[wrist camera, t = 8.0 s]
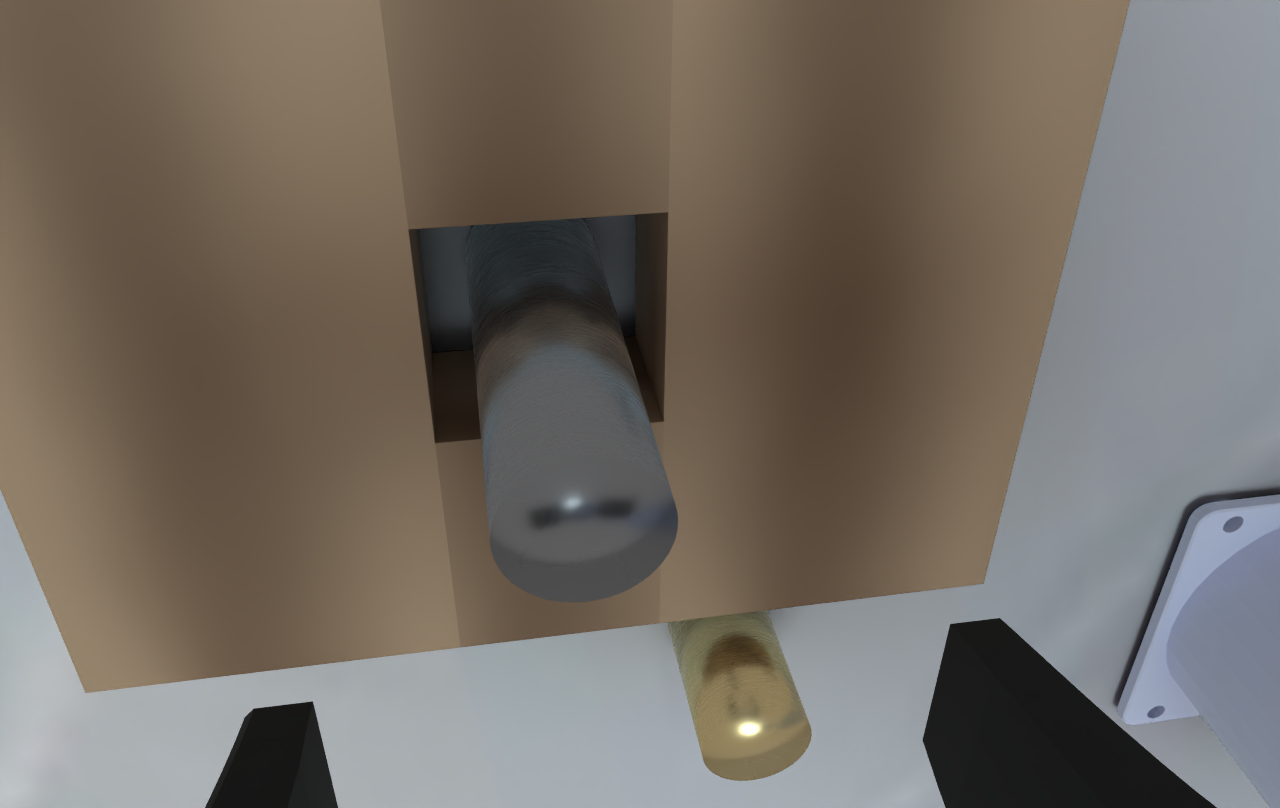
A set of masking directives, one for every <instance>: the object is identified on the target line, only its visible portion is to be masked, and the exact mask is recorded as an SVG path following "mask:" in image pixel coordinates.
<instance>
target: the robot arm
mask: <svg viewBox="0 0 1280 808" xmlns="http://www.w3.org/2000/svg"><path fill="white" fill-rule="evenodd" d="M1117 712H1118V714H1119V716H1120V717H1121V719H1122V720H1123V721H1124V723H1126V724H1128V725H1138V724H1145V723H1152V722H1159V721H1166V720H1173V719H1180V718H1187V717H1194V716H1202V718H1203V719H1204V720H1205V722H1206V723H1207V724H1208V726H1209V727H1210V728H1211V730H1212V731H1213V732H1214V734H1215V735H1216V736H1217V738H1218V739H1219V740H1220V742H1221V743H1222V744H1223V746H1224V747H1225V748H1226V750H1227V751H1228V752H1229V754H1230V755H1231V756H1232V758H1233V759H1234V760H1235V762H1236V763H1237V764H1238V766H1239V767H1240V768H1241V770H1242V771H1243V772H1244V774H1245V775H1246V776H1247V778H1248V779H1249V780H1250V782H1251V783H1252V784H1253V786H1254V787H1255V788H1256V790H1257V791H1258V792H1259V794H1260V795H1261V796H1262V798H1263V799H1264V800H1265V802H1266V803H1267V804H1268V806H1269V807H1270V808H1280V495H1271V496H1262V497H1254V498H1245V499H1236V500H1227V501H1219V502H1211V503H1207V504H1204V505H1202V506H1200V507H1198V508H1197V509H1196V510H1195V511H1194V512H1193V513H1192V514H1191V516H1190V518H1189V520H1188V522H1187V525H1186V527H1185V530H1184V533H1183V535H1182V538H1181V541H1180V543H1179V546H1178V548H1177V551H1176V554H1175V556H1174V559H1173V562H1172V564H1171V567H1170V570H1169V572H1168V575H1167V577H1166V580H1165V583H1164V585H1163V588H1162V591H1161V593H1160V596H1159V599H1158V601H1157V604H1156V606H1155V609H1154V612H1153V614H1152V617H1151V620H1150V622H1149V625H1148V628H1147V630H1146V633H1145V635H1144V638H1143V641H1142V643H1141V646H1140V649H1139V651H1138V654H1137V657H1136V659H1135V662H1134V664H1133V667H1132V670H1131V672H1130V675H1129V678H1128V680H1127V683H1126V686H1125V688H1124V691H1123V693H1122V696H1121V699H1120V701H1119V704H1118V707H1117ZM923 742H924V745H925V748H926V751H927V754H928V758H929V761H930V764H931V767H932V770H933V773H934V776H935V779H936V782H937V785H938V788H939V790H940V793H941V796H942V799H943V802H944V804H945V807H946V808H1217V807H1215V806H1214V805H1213V804H1211V803H1210V802H1209V801H1208V800H1206V799H1205V798H1204V797H1203V796H1201V795H1200V794H1199V793H1197V792H1196V791H1195V790H1194V789H1193V788H1191V787H1190V786H1189V785H1188V784H1186V783H1185V782H1184V781H1183V780H1182V779H1180V778H1179V777H1178V776H1177V775H1175V774H1174V773H1173V772H1172V771H1171V770H1169V769H1168V768H1167V767H1166V766H1165V765H1164V764H1162V763H1161V762H1160V761H1159V760H1158V759H1157V758H1155V757H1154V756H1153V755H1152V754H1151V753H1150V752H1148V751H1147V750H1146V749H1145V748H1144V747H1143V746H1141V745H1140V744H1139V743H1138V742H1137V741H1136V740H1134V739H1133V738H1132V737H1131V736H1130V735H1129V734H1127V733H1126V732H1125V731H1124V730H1123V729H1122V728H1121V727H1119V726H1118V725H1117V724H1116V723H1115V722H1114V721H1113V720H1111V719H1110V718H1109V717H1108V716H1107V715H1106V714H1105V713H1104V712H1102V711H1101V710H1100V709H1099V708H1098V707H1097V706H1096V705H1095V704H1094V703H1092V702H1091V701H1090V700H1089V699H1088V698H1087V697H1086V696H1085V695H1084V694H1083V693H1081V692H1080V691H1079V690H1078V689H1077V688H1076V687H1075V686H1074V685H1073V684H1071V683H1070V682H1069V681H1068V680H1067V679H1066V678H1065V677H1064V676H1063V675H1062V674H1060V673H1059V672H1058V671H1057V670H1056V669H1055V668H1054V667H1053V666H1052V665H1051V664H1050V663H1048V662H1047V661H1046V660H1045V659H1044V658H1043V657H1042V656H1041V655H1040V654H1039V653H1038V652H1036V651H1035V650H1034V649H1033V648H1032V647H1031V646H1030V645H1029V644H1028V643H1027V642H1025V641H1024V640H1023V639H1022V638H1021V637H1020V636H1019V635H1018V634H1017V633H1016V632H1015V631H1013V630H1012V629H1011V628H1010V627H1009V626H1008V625H1007V624H1006V623H1005V622H1003V621H1002V620H1001V619H1000V618H997V619H989V620H981V621H972V622H964V623H956V624H950V628H949V632H948V636H947V640H946V645H945V649H944V653H943V657H942V661H941V665H940V670H939V674H938V678H937V682H936V686H935V691H934V695H933V699H932V703H931V707H930V711H929V716H928V720H927V724H926V728H925V732H924V737H923ZM205 808H338V806H337V801H336V797H335V793H334V789H333V785H332V780H331V776H330V772H329V768H328V763H327V759H326V755H325V751H324V747H323V742H322V738H321V734H320V730H319V726H318V721H317V717H316V713H315V709H314V704H313V702H305V703H297V704H289V705H281V706H273V707H264V708H256V709H253V710H252V711H251V712H250V713H249V714H248V715H247V716H246V717H245V718H244V721H243V723H242V726H241V728H240V731H239V733H238V736H237V738H236V741H235V743H234V745H233V748H232V750H231V752H230V755H229V757H228V759H227V762H226V764H225V766H224V768H223V771H222V773H221V775H220V777H219V779H218V782H217V784H216V786H215V788H214V790H213V792H212V794H211V797H210V799H209V801H208V803H207V805H206V807H205Z"/></svg>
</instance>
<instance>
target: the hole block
mask: <svg viewBox="0 0 1280 808" xmlns="http://www.w3.org/2000/svg"><path fill="white" fill-rule="evenodd" d="M1129 3H1130V0H0V489H1V492H2V494H3V496H4V499H5V501H6V504H7V506H8V508H9V511H10V513H11V516H12V518H13V520H14V523H15V525H16V528H17V530H18V532H19V535H20V537H21V540H22V542H23V544H24V547H25V549H26V552H27V554H28V556H29V559H30V561H31V563H32V566H33V568H34V571H35V573H36V575H37V578H38V580H39V583H40V585H41V587H42V590H43V592H44V595H45V597H46V599H47V602H48V604H49V607H50V609H51V611H52V614H53V616H54V619H55V621H56V623H57V626H58V628H59V631H60V633H61V635H62V638H63V640H64V642H65V645H66V647H67V650H68V652H69V654H70V657H71V659H72V662H73V664H74V666H75V669H76V671H77V674H78V676H79V678H80V681H81V683H82V686H83V688H84V690H85V693H89V692H97V691H106V690H114V689H122V688H130V687H138V686H147V685H155V684H163V683H171V682H179V681H188V680H196V679H204V678H212V677H221V676H229V675H237V674H245V673H253V672H262V671H270V670H278V669H286V668H295V667H303V666H311V665H319V664H327V663H336V662H344V661H352V660H360V659H368V658H377V657H385V656H393V655H401V654H410V653H418V652H426V651H434V650H442V649H451V648H459V647H467V646H475V645H484V644H492V643H500V642H508V641H516V640H525V639H533V638H541V637H549V636H558V635H566V634H574V633H582V632H590V631H599V630H607V629H615V628H623V627H631V626H640V625H648V624H656V623H664V622H673V621H681V620H689V619H697V618H705V617H714V616H722V615H730V614H738V613H747V612H755V611H763V610H771V609H779V608H788V607H796V606H804V605H812V604H820V603H829V602H837V601H845V600H853V599H862V598H870V597H878V596H886V595H894V594H903V593H911V592H919V591H927V590H936V589H944V588H952V587H960V586H968V585H977V584H984V580H985V576H986V572H987V568H988V564H989V560H990V556H991V552H992V548H993V544H994V540H995V536H996V532H997V528H998V524H999V520H1000V516H1001V512H1002V508H1003V504H1004V500H1005V496H1006V492H1007V488H1008V484H1009V480H1010V476H1011V472H1012V468H1013V464H1014V460H1015V456H1016V452H1017V448H1018V444H1019V440H1020V436H1021V432H1022V428H1023V424H1024V420H1025V416H1026V412H1027V409H1028V405H1029V401H1030V397H1031V393H1032V389H1033V385H1034V381H1035V377H1036V373H1037V369H1038V365H1039V361H1040V357H1041V353H1042V349H1043V345H1044V341H1045V337H1046V333H1047V329H1048V325H1049V321H1050V317H1051V313H1052V309H1053V305H1054V301H1055V297H1056V293H1057V289H1058V285H1059V281H1060V277H1061V273H1062V269H1063V265H1064V261H1065V257H1066V253H1067V249H1068V245H1069V241H1070V237H1071V233H1072V229H1073V226H1074V222H1075V218H1076V214H1077V210H1078V206H1079V202H1080V198H1081V194H1082V190H1083V186H1084V182H1085V178H1086V174H1087V170H1088V166H1089V162H1090V158H1091V154H1092V150H1093V146H1094V142H1095V138H1096V134H1097V130H1098V126H1099V122H1100V118H1101V114H1102V110H1103V106H1104V102H1105V98H1106V94H1107V90H1108V86H1109V82H1110V78H1111V74H1112V70H1113V66H1114V62H1115V58H1116V54H1117V50H1118V46H1119V43H1120V39H1121V35H1122V31H1123V27H1124V23H1125V19H1126V15H1127V11H1128V7H1129ZM635 214H636V336H633V337H624V340H625V343H626V347H627V350H628V353H629V356H630V359H631V363H632V366H633V369H634V372H635V375H636V379H637V382H638V385H639V388H640V392H641V395H642V398H643V401H644V404H645V408H646V411H647V414H648V417H649V421H650V424H651V427H652V430H653V433H654V437H655V440H656V443H657V446H658V450H659V453H660V456H661V459H662V462H663V466H664V469H665V472H666V475H667V478H668V482H669V485H670V488H671V491H672V495H673V498H674V501H675V504H676V508H677V513H678V529H677V535H676V538H675V541H674V544H673V546H672V548H671V550H670V552H669V554H668V556H667V557H666V558H665V560H664V561H663V563H662V564H661V565H660V566H659V567H658V568H657V569H656V570H655V571H654V572H653V573H652V574H651V575H650V576H649V577H647V578H646V579H645V580H643V581H642V582H640V583H639V584H637V585H636V586H634V587H632V588H630V589H629V590H626V591H624V592H622V593H620V594H617V595H614V596H611V597H608V598H604V599H600V600H596V601H589V602H575V603H570V602H558V601H551V600H547V599H543V598H539V597H537V596H534V595H532V594H529V593H527V592H525V591H523V590H522V589H520V588H518V587H517V586H516V585H514V584H513V583H511V582H510V581H509V580H508V579H507V578H506V577H505V576H504V575H503V573H502V572H501V571H500V569H499V568H498V566H497V564H496V562H495V560H494V558H493V555H492V552H491V546H490V538H489V526H488V514H487V502H486V491H485V479H484V467H483V455H482V444H481V432H480V420H479V408H478V397H477V385H476V373H475V362H474V350H464V351H452V352H440V353H433V352H432V343H431V335H430V326H429V318H428V310H427V301H426V293H425V285H424V276H423V268H422V260H421V251H420V243H419V235H418V229H424V228H439V227H454V226H469V225H484V224H499V223H514V222H529V221H544V220H560V219H575V218H590V217H605V216H620V215H635Z"/></svg>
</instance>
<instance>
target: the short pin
mask: <svg viewBox="0 0 1280 808" xmlns="http://www.w3.org/2000/svg"><path fill="white" fill-rule="evenodd" d="M667 623H668V627H669V631H670V635H671V639H672V642H673V646H674V650H675V654H676V658H677V661H678V665H679V669H680V673H681V677H682V680H683V684H684V688H685V692H686V696H687V699H688V703H689V707H690V711H691V715H692V718H693V722H694V726H695V730H696V734H697V737H698V741H699V745H700V749H701V753H702V756H703V760H704V763H705V765H706V766H707V768H708V769H709V770H710V771H711V772H713V773H714V774H716V775H718V776H720V777H722V778H726V779H730V780H738V781H747V780H755V779H761V778H764V777H768V776H771V775H774V774H776V773H778V772H780V771H782V770H784V769H786V768H787V767H789V766H790V765H792V764H793V763H794V762H796V761H797V760H798V759H799V758H800V757H801V756H802V755H803V753H804V752H805V751H806V749H807V747H808V745H809V743H810V740H811V727H810V724H809V722H808V719H807V716H806V714H805V711H804V708H803V705H802V703H801V700H800V697H799V695H798V692H797V689H796V687H795V684H794V681H793V679H792V676H791V673H790V671H789V668H788V665H787V663H786V660H785V657H784V654H783V652H782V649H781V646H780V644H779V641H778V638H777V636H776V633H775V630H774V628H773V625H772V622H771V620H770V617H769V614H768V611H767V610H763V611H755V612H747V613H738V614H730V615H722V616H714V617H705V618H697V619H689V620H681V621H673V622H667Z"/></svg>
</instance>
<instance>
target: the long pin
mask: <svg viewBox="0 0 1280 808" xmlns="http://www.w3.org/2000/svg"><path fill="white" fill-rule="evenodd" d="M466 268H467V279H468V291H469V303H470V315H471V326H472V338H473V350H474V362H475V373H476V385H477V397H478V408H479V420H480V432H481V444H482V455H483V467H484V479H485V491H486V502H487V514H488V526H489V538H490V546H491V552H492V555H493V558H494V560H495V562H496V564H497V566H498V568H499V569H500V571H501V572H502V573H503V575H504V576H505V577H506V578H507V579H508V580H509V581H510V582H511V583H513V584H514V585H516V586H517V587H518V588H520V589H522V590H523V591H525V592H527V593H529V594H532V595H534V596H537V597H539V598H543V599H547V600H551V601H558V602H570V603H575V602H589V601H596V600H600V599H604V598H608V597H611V596H614V595H617V594H620V593H622V592H624V591H626V590H629V589H630V588H632V587H634V586H636V585H637V584H639V583H640V582H642V581H643V580H645V579H646V578H647V577H649V576H650V575H651V574H652V573H653V572H654V571H655V570H656V569H657V568H658V567H659V566H660V565H661V564H662V563H663V561H664V560H665V558H666V557H667V556H668V554H669V552H670V550H671V548H672V546H673V544H674V541H675V538H676V535H677V529H678V513H677V508H676V504H675V501H674V498H673V495H672V491H671V488H670V485H669V482H668V478H667V475H666V472H665V469H664V466H663V462H662V459H661V456H660V453H659V450H658V446H657V443H656V440H655V437H654V433H653V430H652V427H651V424H650V421H649V417H648V414H647V411H646V408H645V404H644V401H643V398H642V395H641V392H640V388H639V385H638V382H637V379H636V375H635V372H634V369H633V366H632V363H631V359H630V356H629V353H628V350H627V347H626V343H625V340H624V337H623V334H622V330H621V327H620V324H619V321H618V318H617V314H616V311H615V308H614V305H613V301H612V298H611V295H610V292H609V289H608V285H607V282H606V279H605V276H604V272H603V269H602V266H601V263H600V260H599V256H598V253H597V250H596V247H595V243H594V240H593V237H592V234H591V231H590V229H589V227H588V225H587V223H586V221H585V220H584V219H583V218H575V219H560V220H544V221H529V222H514V223H499V224H484V225H473V227H472V229H471V231H470V233H469V236H468V239H467V243H466Z"/></svg>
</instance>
